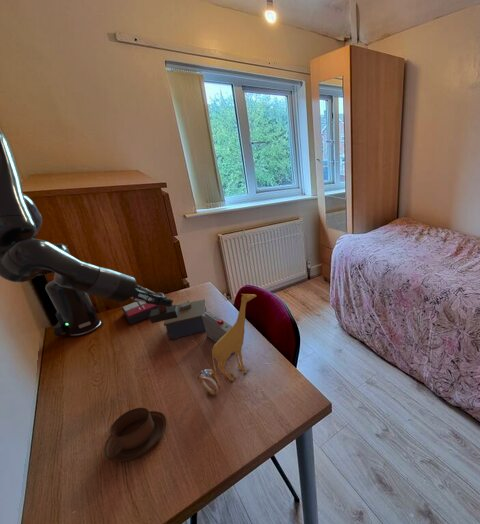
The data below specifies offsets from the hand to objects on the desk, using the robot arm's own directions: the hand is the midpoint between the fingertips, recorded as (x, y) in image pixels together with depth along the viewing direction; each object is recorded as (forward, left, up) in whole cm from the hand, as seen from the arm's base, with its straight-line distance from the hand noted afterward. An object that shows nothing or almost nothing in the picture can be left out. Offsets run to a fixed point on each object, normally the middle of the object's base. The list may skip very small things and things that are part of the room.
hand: (168, 302), depth 90 cm
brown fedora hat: (-7, -33, -18) cm, 38 cm away
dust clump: (+2, +14, -11) cm, 18 cm away
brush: (-2, -1, -4) cm, 5 cm away
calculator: (-14, +30, -18) cm, 38 cm away
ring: (+9, -26, -18) cm, 33 cm away
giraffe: (+18, -21, -18) cm, 33 cm away
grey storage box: (+2, +11, -18) cm, 21 cm away
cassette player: (+12, -4, -18) cm, 22 cm away
